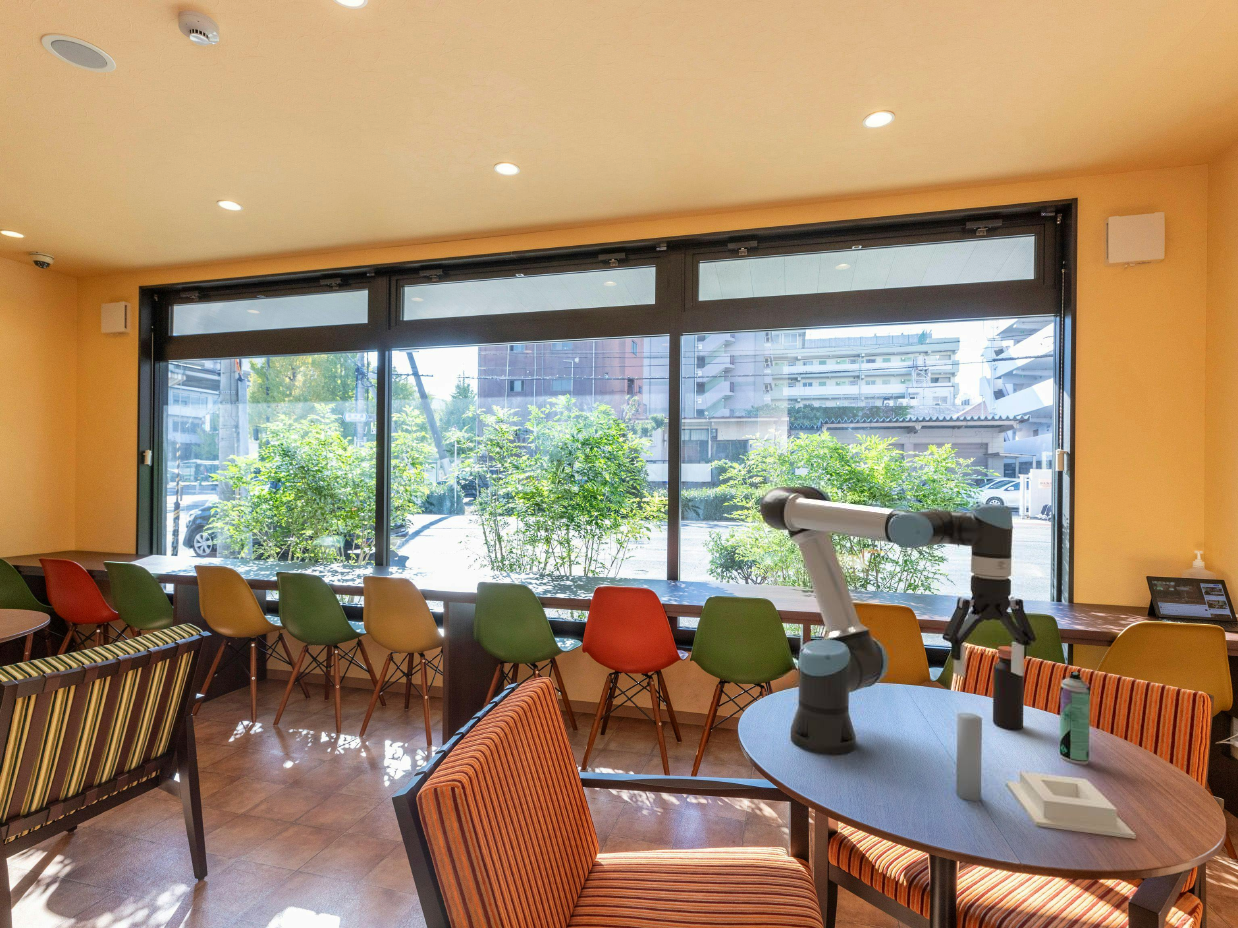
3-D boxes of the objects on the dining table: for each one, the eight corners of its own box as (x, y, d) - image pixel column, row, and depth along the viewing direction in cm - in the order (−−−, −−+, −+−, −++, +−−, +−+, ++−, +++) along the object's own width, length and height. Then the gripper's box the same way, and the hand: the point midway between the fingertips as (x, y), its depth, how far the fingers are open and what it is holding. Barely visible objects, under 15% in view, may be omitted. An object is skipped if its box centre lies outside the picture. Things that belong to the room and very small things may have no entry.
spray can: (1083, 755, 150) (1085, 670, 150) (1092, 766, 144) (1093, 677, 144) (1056, 752, 151) (1057, 667, 151) (1064, 762, 146) (1065, 674, 146)
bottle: (1023, 723, 168) (1024, 647, 168) (1023, 732, 163) (1024, 653, 163) (993, 718, 172) (994, 643, 172) (992, 726, 166) (993, 649, 166)
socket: (1035, 825, 119) (1036, 804, 119) (1005, 784, 135) (1005, 765, 135) (1135, 838, 116) (1135, 816, 116) (1092, 795, 131) (1092, 775, 131)
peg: (959, 799, 129) (960, 719, 129) (953, 788, 133) (954, 711, 133) (983, 802, 128) (984, 722, 128) (977, 791, 132) (978, 713, 132)
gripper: (948, 579, 133) (945, 681, 133) (1057, 579, 136) (1054, 678, 136) (926, 572, 140) (924, 669, 140) (1030, 573, 143) (1027, 667, 143)
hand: (988, 674), depth 138 cm, fingers open, 13 cm apart
